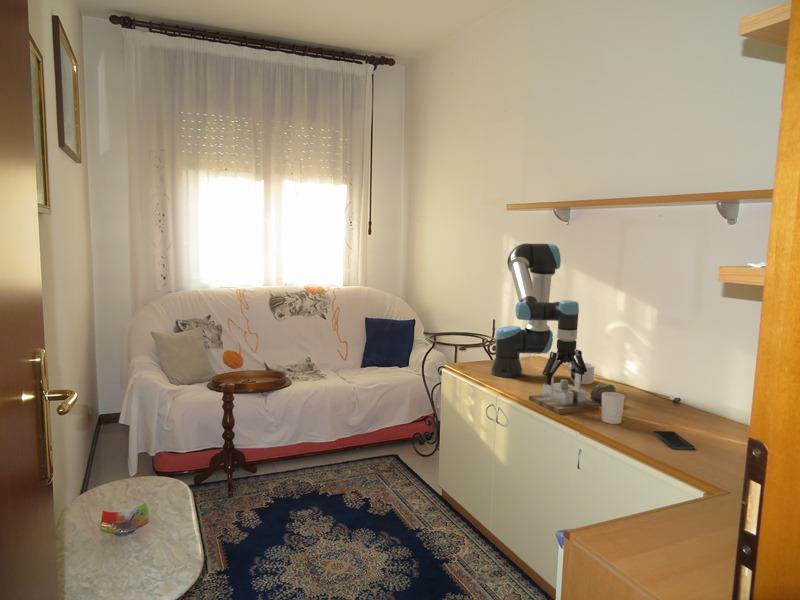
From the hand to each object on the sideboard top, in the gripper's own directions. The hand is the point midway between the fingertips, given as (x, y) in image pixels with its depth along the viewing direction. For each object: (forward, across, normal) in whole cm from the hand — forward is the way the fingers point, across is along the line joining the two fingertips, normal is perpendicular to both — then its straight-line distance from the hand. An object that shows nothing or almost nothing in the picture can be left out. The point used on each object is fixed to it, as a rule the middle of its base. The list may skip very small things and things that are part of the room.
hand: (563, 391), depth 224 cm
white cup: (+6, +4, -23) cm, 24 cm away
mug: (+6, +32, +28) cm, 43 cm away
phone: (+6, +9, -46) cm, 47 cm away
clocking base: (+6, 0, 0) cm, 6 cm away
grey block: (+4, 0, 0) cm, 4 cm away
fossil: (+6, +17, -4) cm, 19 cm away
